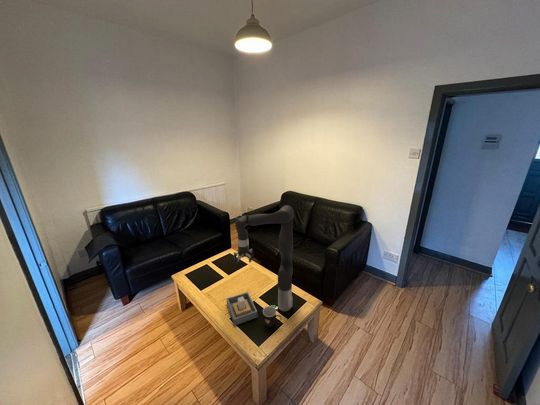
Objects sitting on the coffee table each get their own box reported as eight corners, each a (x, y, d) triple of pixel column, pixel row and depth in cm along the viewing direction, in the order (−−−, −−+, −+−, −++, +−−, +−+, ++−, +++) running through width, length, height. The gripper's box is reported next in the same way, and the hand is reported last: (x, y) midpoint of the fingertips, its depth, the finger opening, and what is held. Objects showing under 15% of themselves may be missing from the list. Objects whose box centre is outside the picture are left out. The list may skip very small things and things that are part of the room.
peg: (243, 306, 155) (243, 296, 152) (245, 310, 151) (244, 300, 148) (238, 308, 153) (237, 298, 150) (239, 312, 150) (239, 302, 147)
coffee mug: (260, 323, 143) (260, 311, 139) (269, 315, 148) (269, 304, 145) (272, 334, 135) (272, 322, 131) (282, 326, 140) (282, 314, 137)
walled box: (248, 297, 164) (247, 291, 162) (257, 317, 147) (257, 311, 145) (227, 303, 158) (226, 298, 156) (234, 325, 141) (234, 319, 139)
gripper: (251, 239, 158) (251, 258, 163) (231, 243, 152) (233, 263, 158) (254, 244, 151) (255, 264, 157) (234, 248, 146) (235, 269, 151)
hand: (244, 263), depth 157 cm, fingers open, 8 cm apart
